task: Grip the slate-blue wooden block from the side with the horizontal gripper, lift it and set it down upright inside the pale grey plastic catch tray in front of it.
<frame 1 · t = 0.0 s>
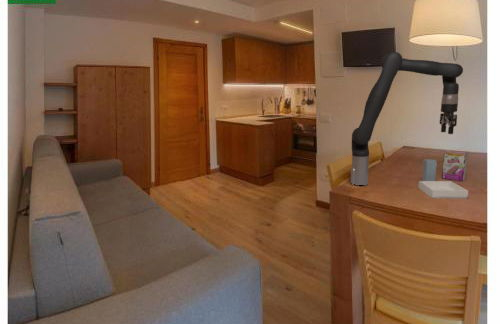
hand: (446, 133, 170), 29 cm above the table, tool pointing down, fingers open, 8 cm apart
slate block: (428, 184, 178), on the table
catch tray: (441, 193, 162), on the table
candy bar box: (453, 179, 186), on the table
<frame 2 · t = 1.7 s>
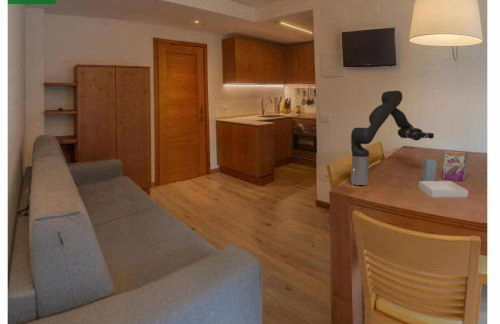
hand: (424, 137, 183), 26 cm above the table, tool horizontal, fingers open, 8 cm apart
nothing on the table moved.
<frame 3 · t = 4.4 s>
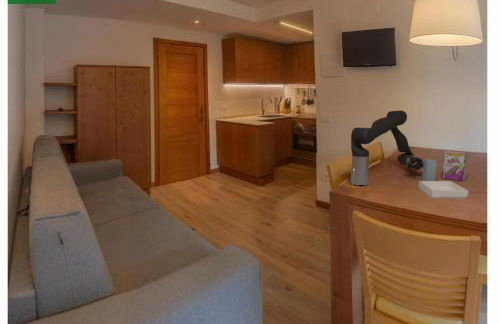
hand: (424, 168, 183), 8 cm above the table, tool horizontal, fingers open, 8 cm apart
nothing on the table moved.
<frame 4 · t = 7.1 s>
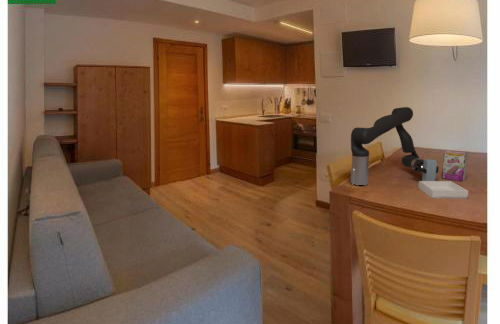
hand: (431, 171, 174), 8 cm above the table, tool horizontal, fingers closed on slate block, 5 cm apart
slate block: (428, 184, 178), on the table, touching gripper
everything else where it was.
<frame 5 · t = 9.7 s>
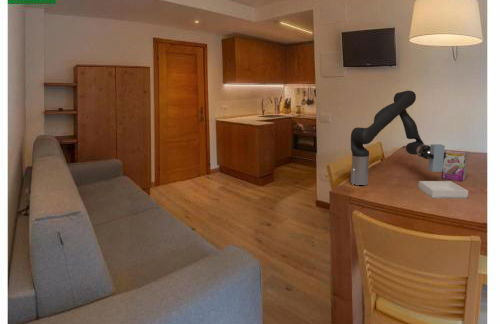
hand: (438, 156, 164), 18 cm above the table, tool horizontal, fingers closed on slate block, 5 cm apart
slate block: (435, 170, 169), point 10 cm above the table, touching gripper
everything else where it was.
when the fingers open (10 cm above the table, at t = 12.7 s): slate block drops 1 cm, resting on catch tray.
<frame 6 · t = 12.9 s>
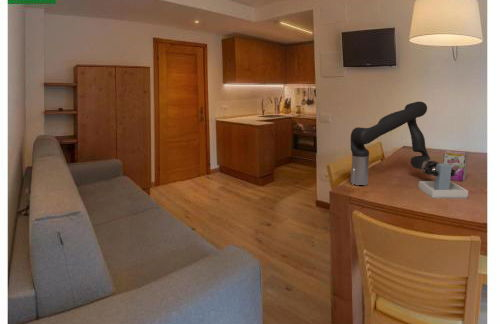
hand: (445, 174, 157), 10 cm above the table, tool horizontal, fingers open, 6 cm apart
slate block: (441, 191, 161), point 1 cm above the table, touching catch tray
everything else where it was.
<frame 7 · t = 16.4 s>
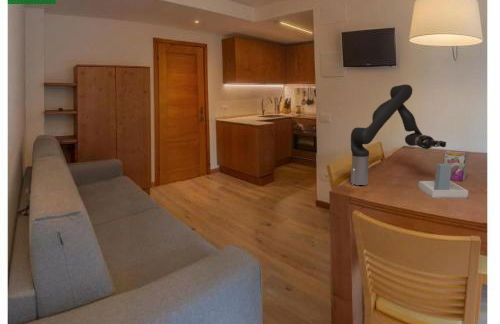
hand: (435, 145, 168), 23 cm above the table, tool horizontal, fingers open, 8 cm apart
nothing on the table moved.
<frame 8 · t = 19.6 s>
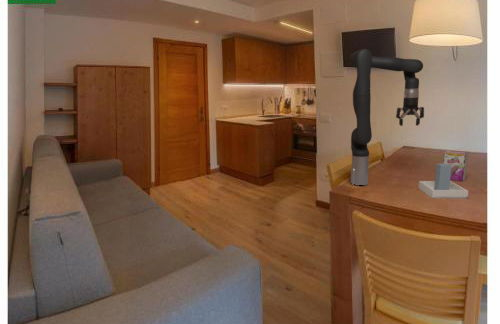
hand: (409, 125, 180), 33 cm above the table, tool pointing down, fingers open, 8 cm apart
nothing on the table moved.
at the end: slate block inside the target area on the catch tray (0.1 cm from its centre), point 1.0 cm above the catch tray's base; slate block tilted 0°; the gripper is holding nothing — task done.
